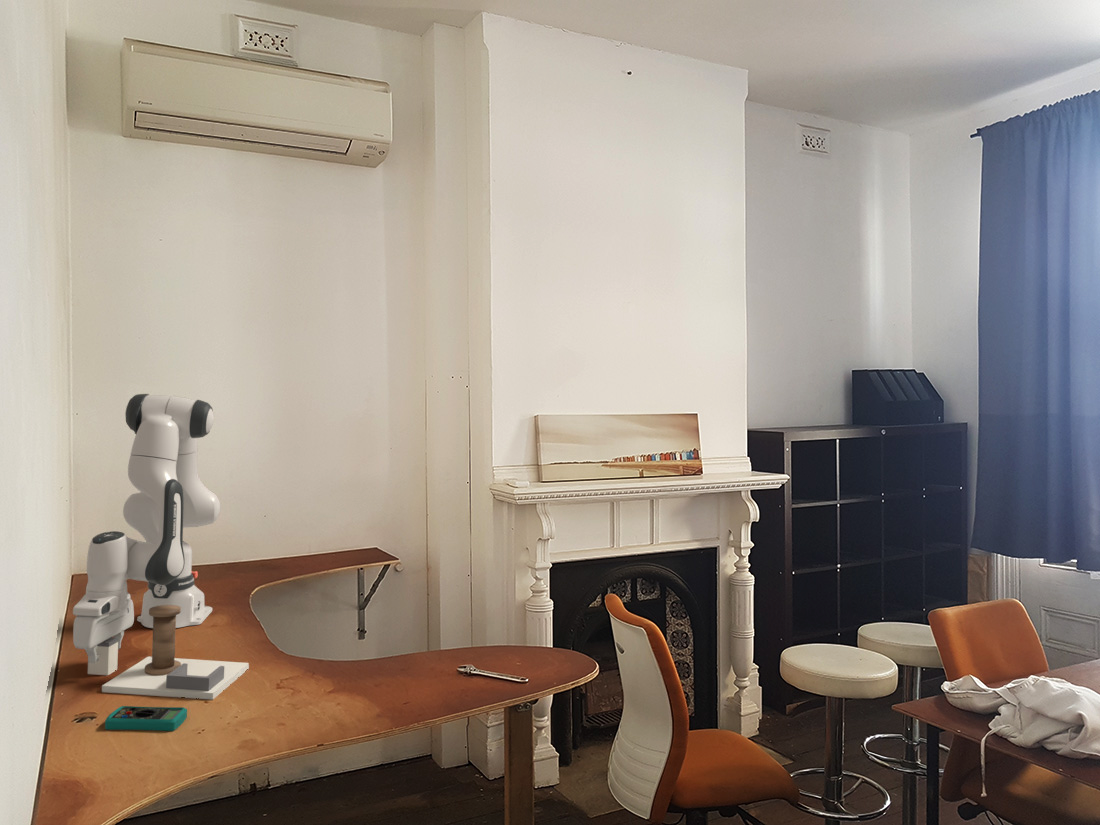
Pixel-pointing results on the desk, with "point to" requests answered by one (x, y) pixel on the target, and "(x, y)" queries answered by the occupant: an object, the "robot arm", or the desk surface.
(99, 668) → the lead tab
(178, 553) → the robot arm
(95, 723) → the desk surface
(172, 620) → the bobbin
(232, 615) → the desk surface
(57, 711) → the desk surface
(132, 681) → the board
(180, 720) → the digital multimeter
